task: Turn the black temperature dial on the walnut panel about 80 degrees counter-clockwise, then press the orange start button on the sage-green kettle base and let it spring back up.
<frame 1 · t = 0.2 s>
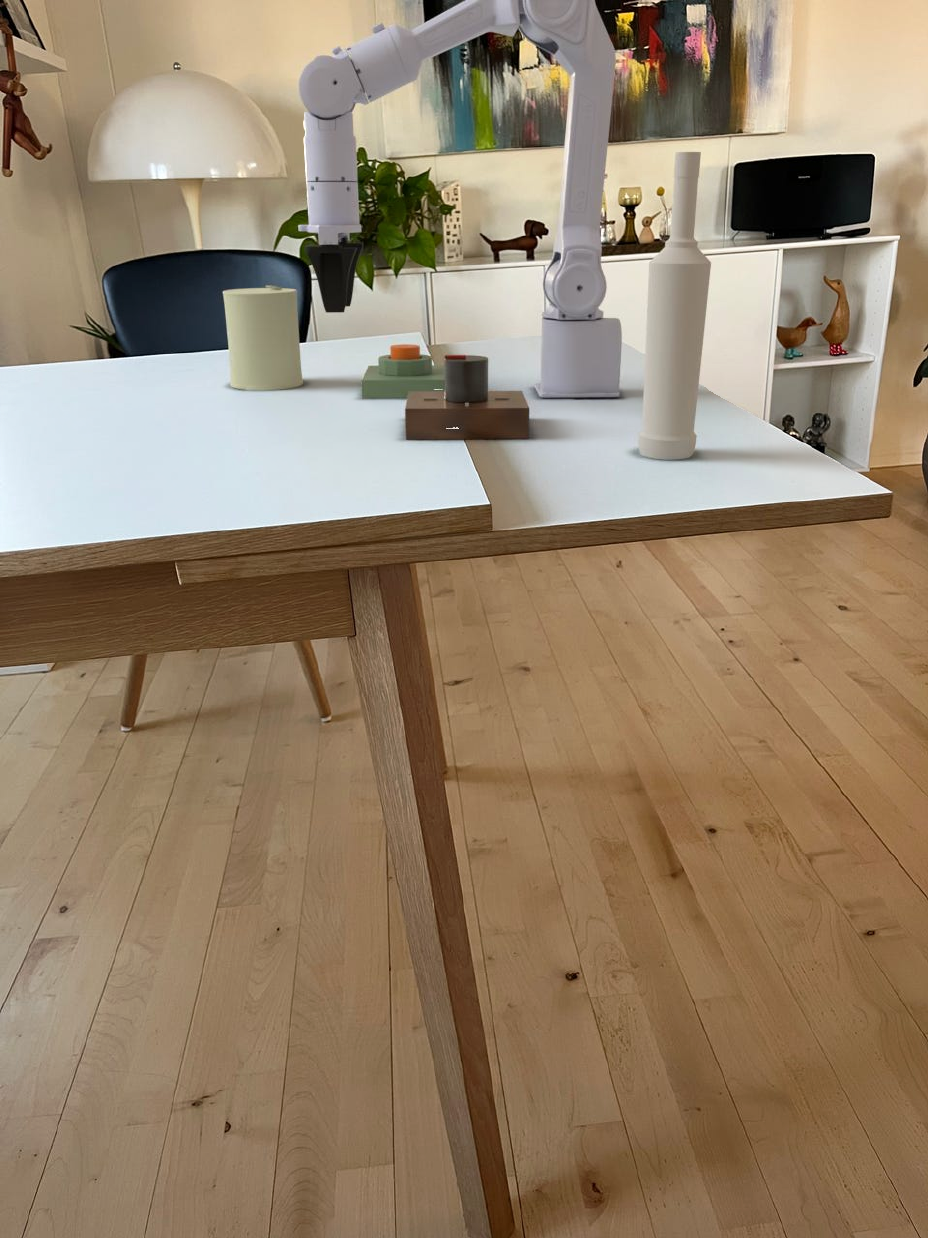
hand: (338, 309, 118), 10 cm above the table, tool pointing down, fingers open, 7 cm apart
kettle base: (406, 390, 125), on the table
can: (267, 386, 129), on the table
dial panel: (466, 428, 103), on the table
button: (405, 353, 123), point 4 cm above the table, slide at 0.1 cm
dial: (466, 376, 101), point 5 cm above the table, hinge at 0.0°
bottle: (665, 455, 92), on the table
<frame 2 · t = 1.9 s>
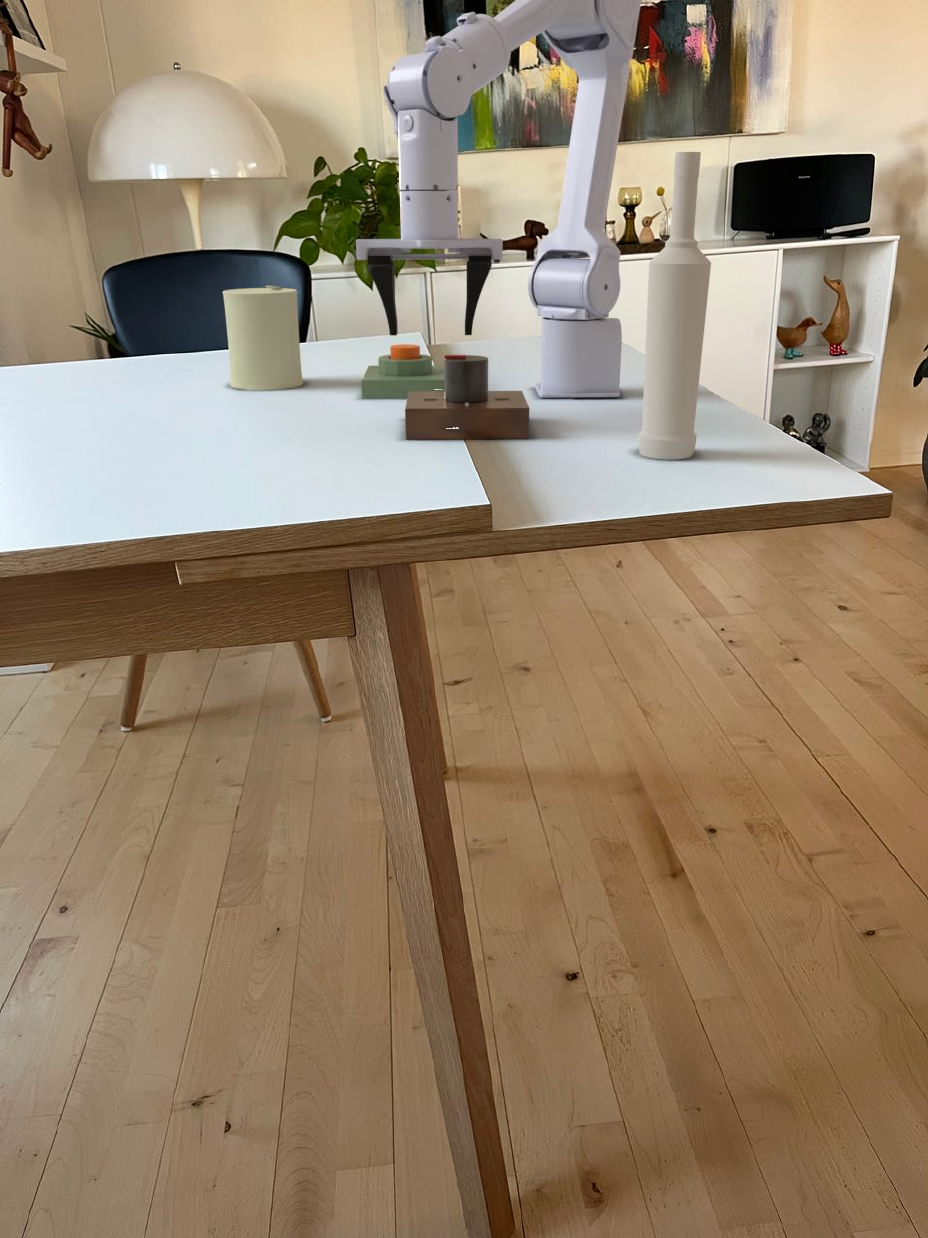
hand: (430, 334, 104), 9 cm above the table, tool pointing down, fingers open, 7 cm apart
nothing on the table moved.
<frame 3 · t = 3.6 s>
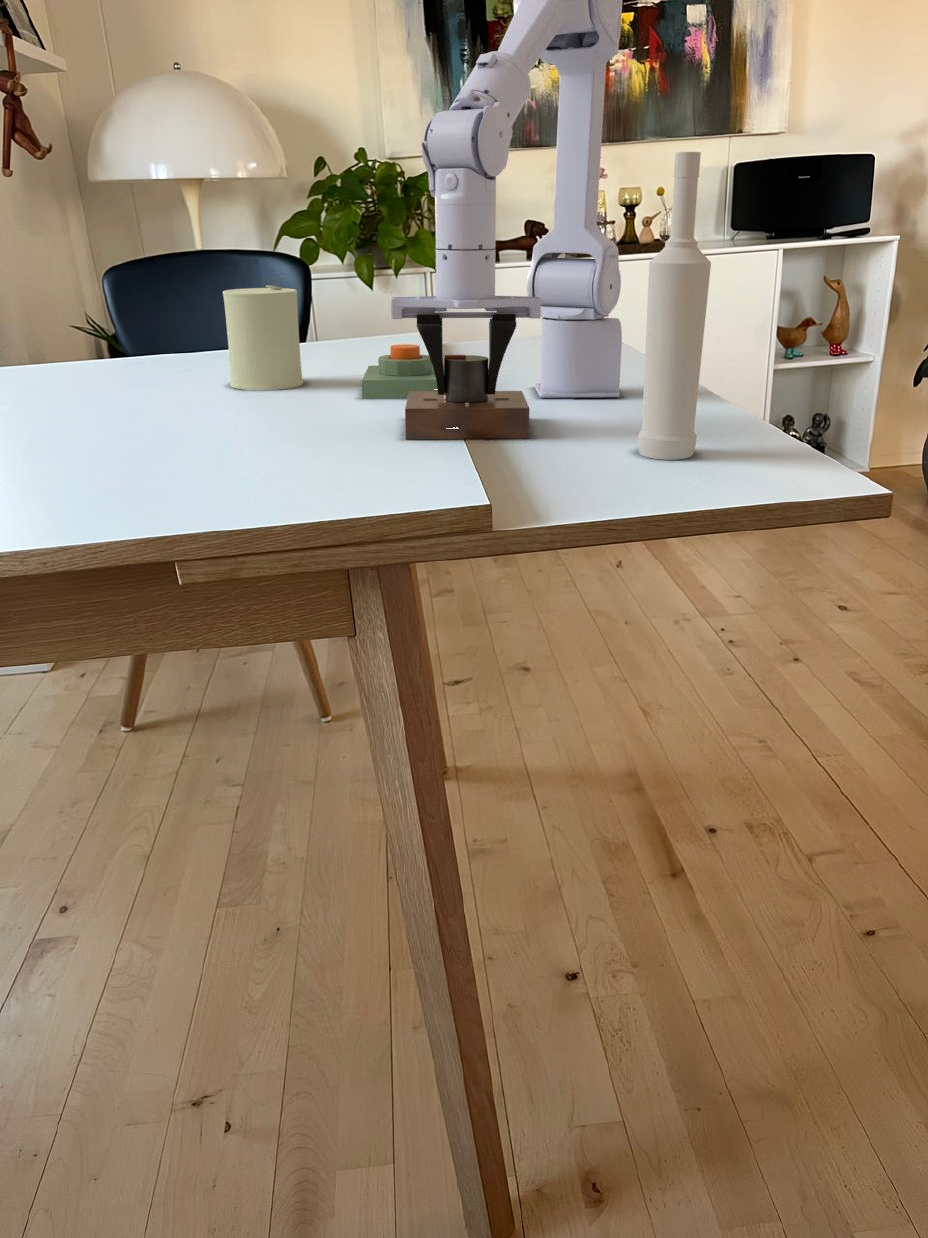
hand: (465, 393, 101), 4 cm above the table, tool pointing down, fingers closed on dial, 4 cm apart
dial: (466, 376, 101), point 5 cm above the table, hinge at 0.1°, touching gripper
everything else where it was.
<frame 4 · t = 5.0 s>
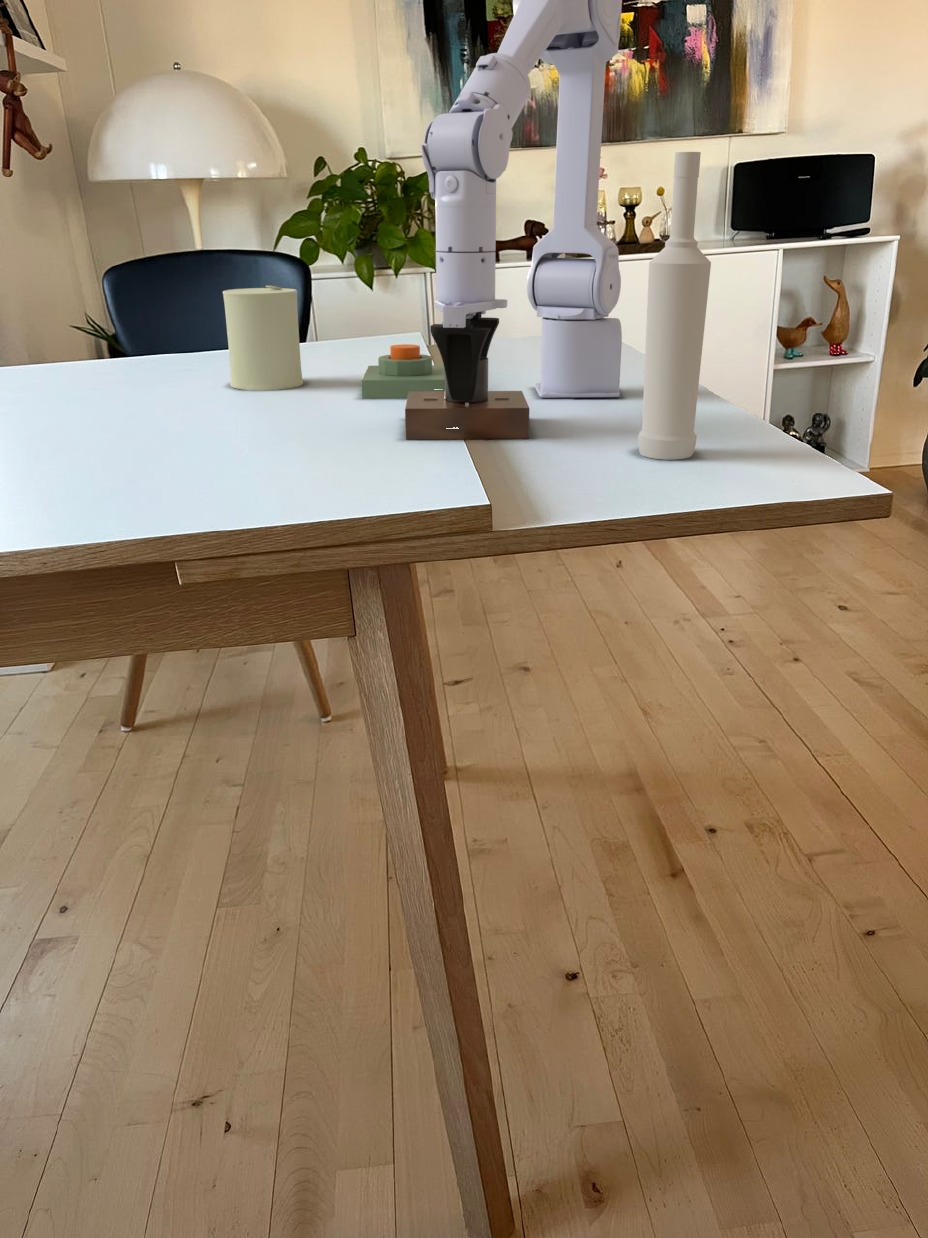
hand: (465, 395, 102), 3 cm above the table, tool pointing down, fingers closed on dial, 4 cm apart
dial: (466, 376, 101), point 5 cm above the table, hinge at 80.3°, touching gripper
everything else where it was.
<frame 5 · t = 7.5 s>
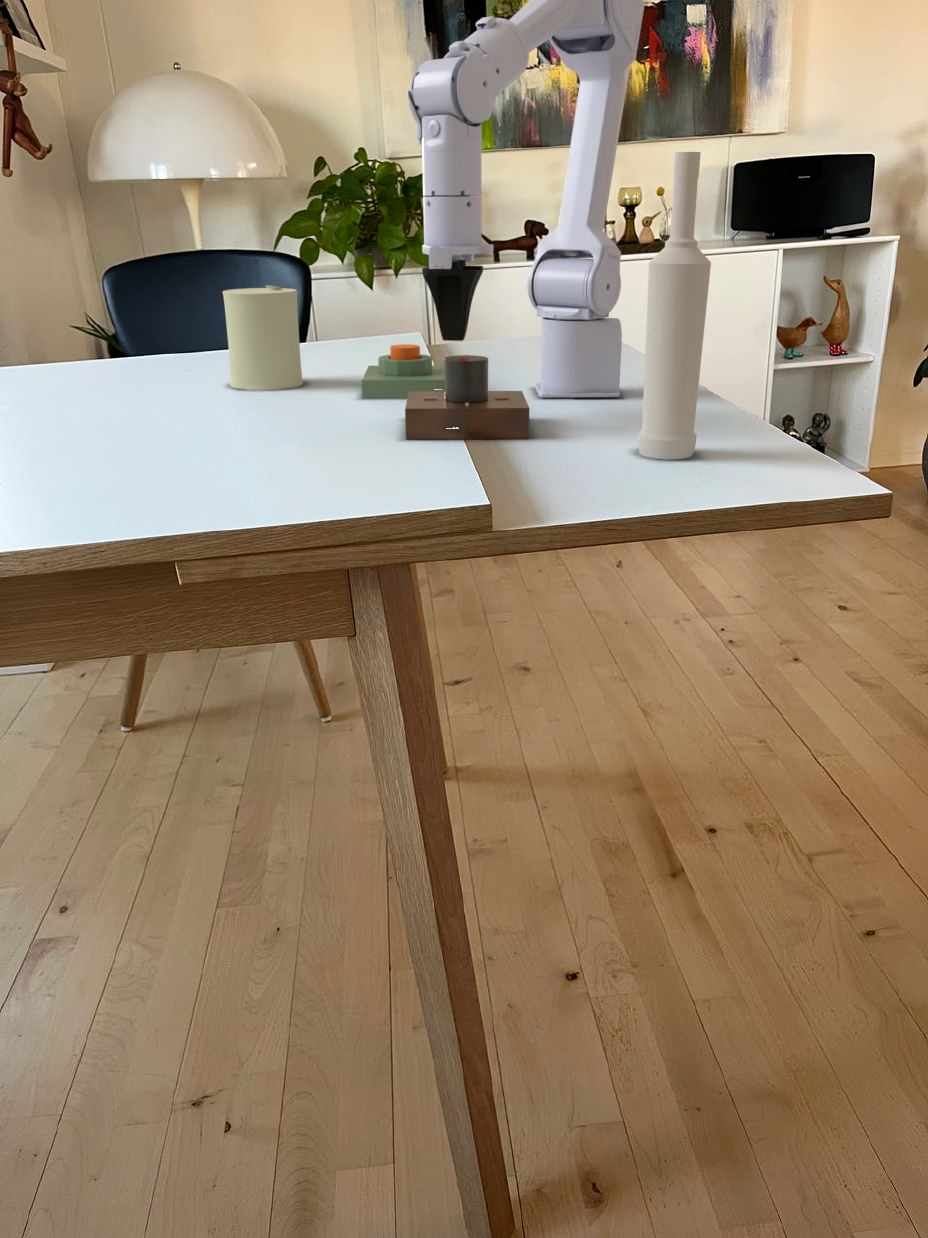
hand: (453, 339, 104), 8 cm above the table, tool pointing down, fingers closed
dial: (466, 376, 101), point 5 cm above the table, hinge at 80.0°
everything else where it was.
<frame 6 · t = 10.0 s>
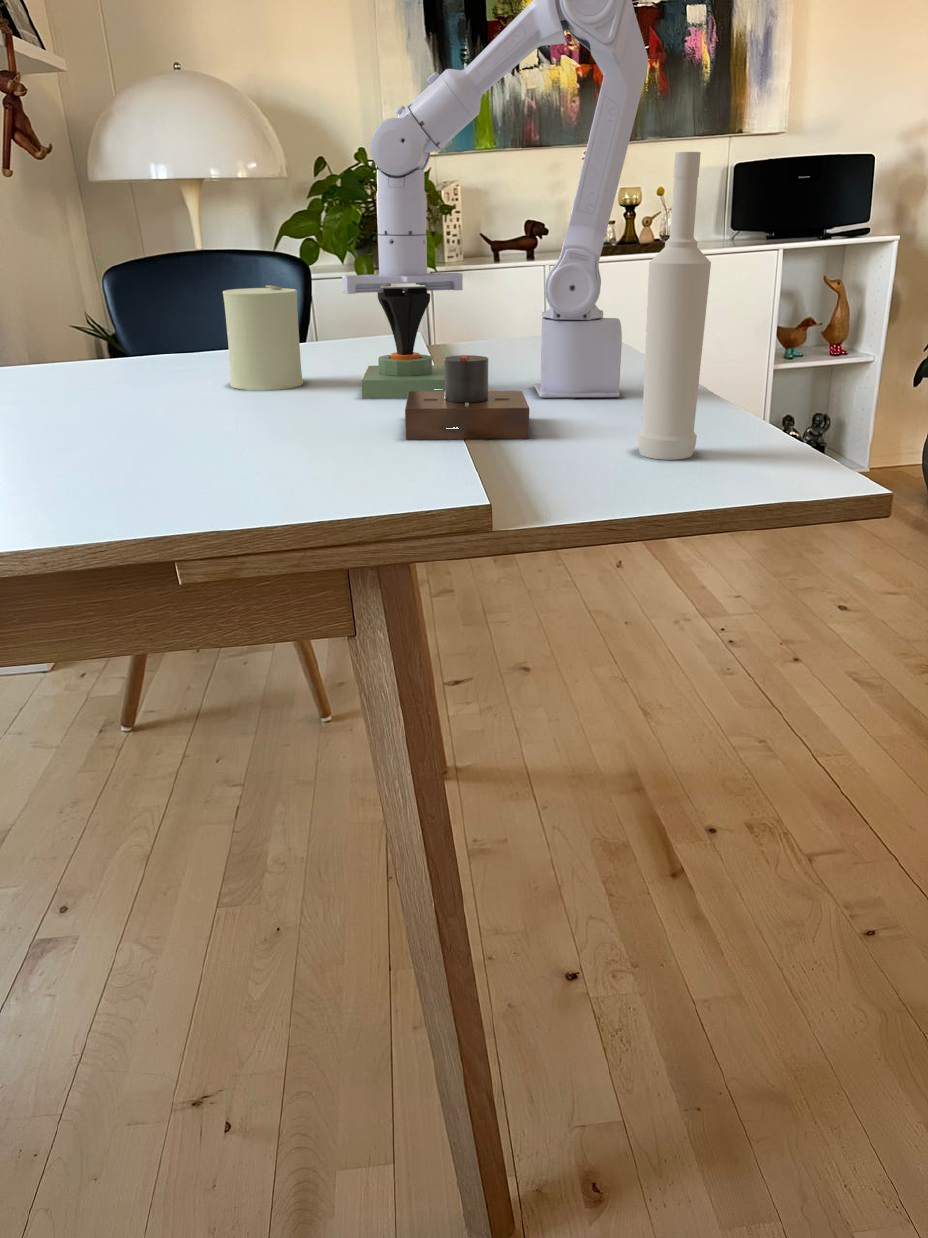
hand: (405, 353, 123), 4 cm above the table, tool pointing down, fingers closed, pressing on button
button: (405, 360, 124), point 4 cm above the table, slide at -0.8 cm, touching gripper
everything else where it was.
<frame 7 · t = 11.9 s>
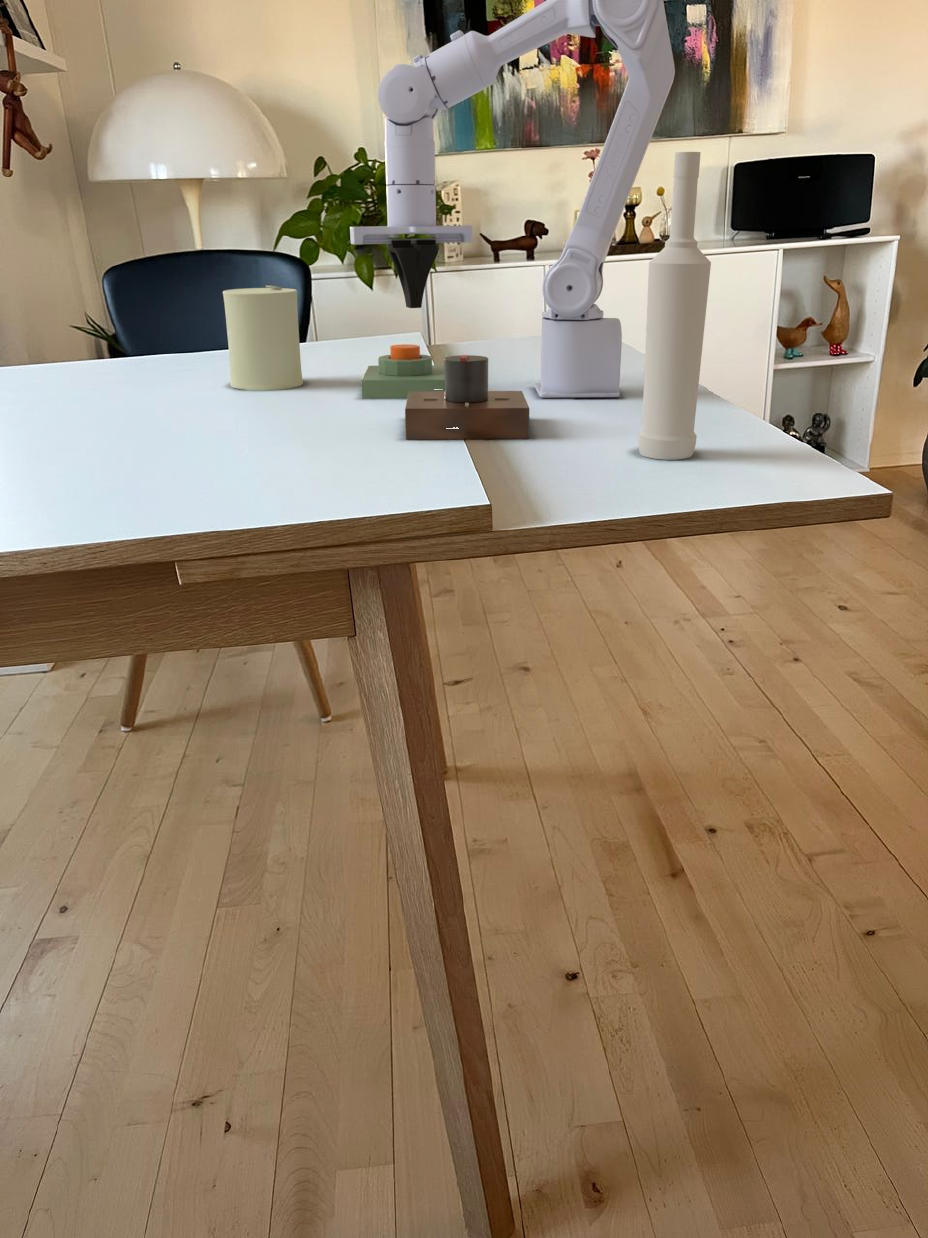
hand: (413, 307, 122), 10 cm above the table, tool pointing down, fingers closed
button: (405, 353, 123), point 4 cm above the table, slide at 0.1 cm
everything else where it was.
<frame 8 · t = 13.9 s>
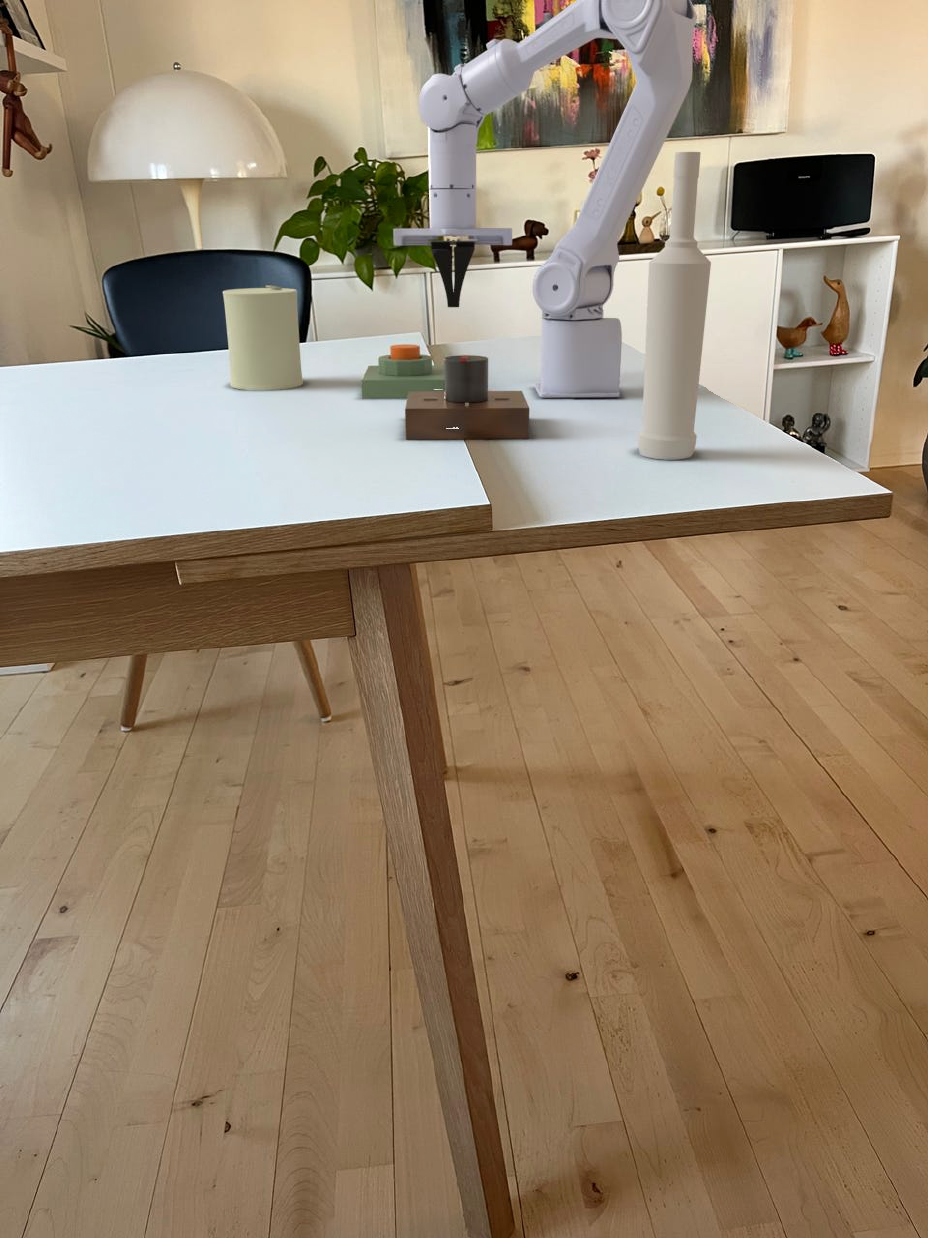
hand: (453, 306, 127), 9 cm above the table, tool pointing down, fingers closed
nothing on the table moved.
at the end: dial at +80° (first picture: +0°); button pushed in 1.2 cm at the most during the clip, back to where it started at the end; button slide at 0.1 cm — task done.
